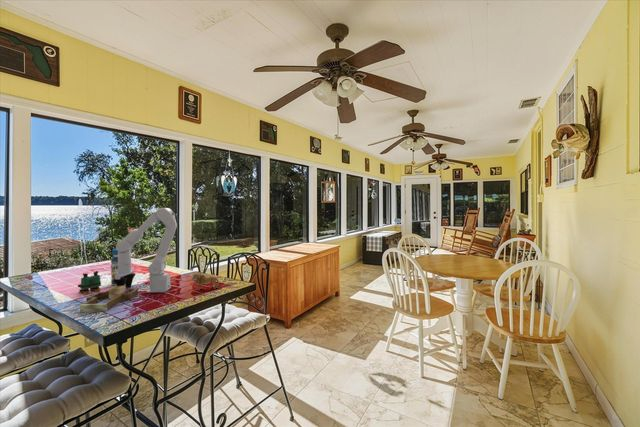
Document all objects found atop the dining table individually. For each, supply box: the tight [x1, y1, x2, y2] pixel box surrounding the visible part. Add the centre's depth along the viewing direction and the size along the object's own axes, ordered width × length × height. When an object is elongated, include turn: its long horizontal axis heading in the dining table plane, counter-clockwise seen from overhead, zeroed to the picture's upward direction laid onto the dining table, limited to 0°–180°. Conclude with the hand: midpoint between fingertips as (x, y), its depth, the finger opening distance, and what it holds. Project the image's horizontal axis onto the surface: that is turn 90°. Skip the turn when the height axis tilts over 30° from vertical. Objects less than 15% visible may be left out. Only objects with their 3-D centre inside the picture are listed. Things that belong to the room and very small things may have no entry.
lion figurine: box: [192, 272, 222, 289], centre depth 159 cm, size 15×5×9 cm, turn 113°
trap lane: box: [79, 286, 139, 313], centre depth 137 cm, size 16×26×3 cm, turn 9°
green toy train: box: [77, 270, 102, 295], centre depth 151 cm, size 9×11×10 cm
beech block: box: [108, 285, 127, 300], centre depth 143 cm, size 5×5×5 cm
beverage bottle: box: [110, 248, 124, 286], centre depth 166 cm, size 8×8×20 cm
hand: (124, 289), depth 151 cm, fingers open, 6 cm apart
